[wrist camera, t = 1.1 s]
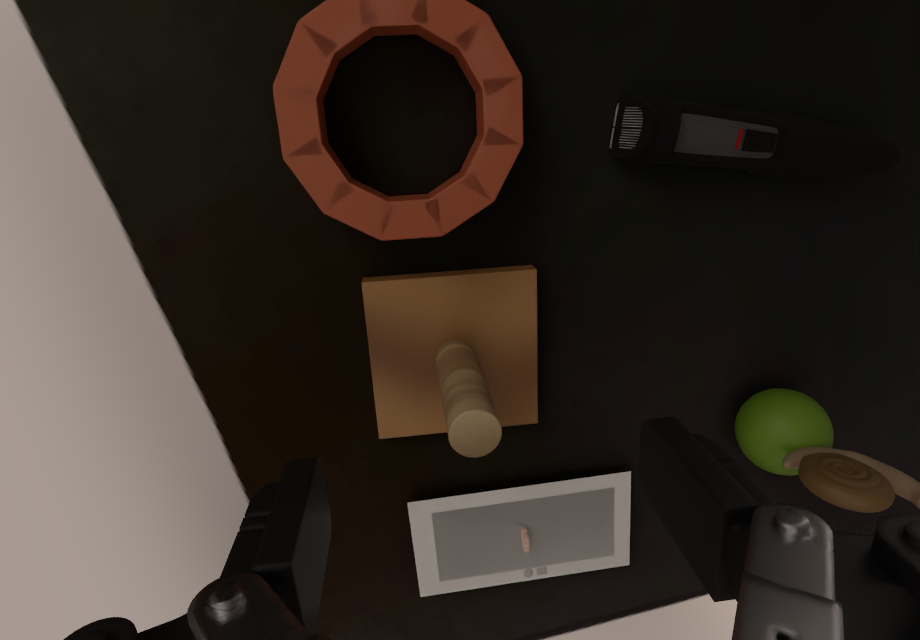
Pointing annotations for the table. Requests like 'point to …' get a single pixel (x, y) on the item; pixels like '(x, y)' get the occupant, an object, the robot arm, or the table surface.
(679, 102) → the electric trimmer
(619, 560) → the touchpad
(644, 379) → the table surface
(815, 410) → the snail figurine
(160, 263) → the table surface
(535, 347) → the stand
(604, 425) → the table surface
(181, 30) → the table surface
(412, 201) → the ring
